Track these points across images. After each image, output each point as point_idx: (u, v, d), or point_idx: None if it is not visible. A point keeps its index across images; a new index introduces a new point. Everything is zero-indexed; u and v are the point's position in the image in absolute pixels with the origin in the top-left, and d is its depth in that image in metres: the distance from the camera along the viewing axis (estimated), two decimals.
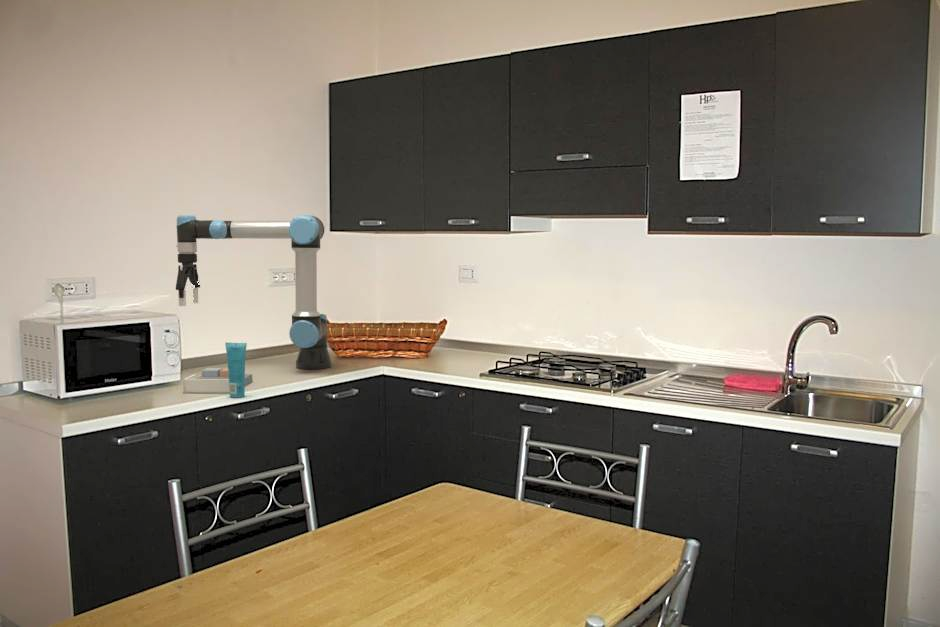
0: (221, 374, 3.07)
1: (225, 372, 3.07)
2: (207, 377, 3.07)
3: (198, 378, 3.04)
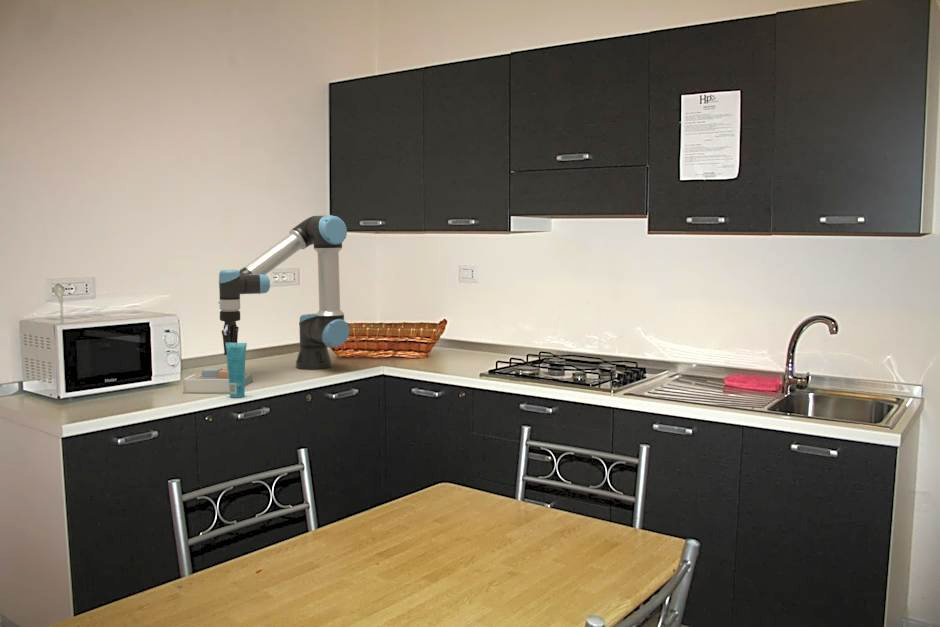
0: (219, 375, 3.05)
1: (223, 373, 3.05)
2: (207, 377, 3.07)
3: (198, 378, 3.04)
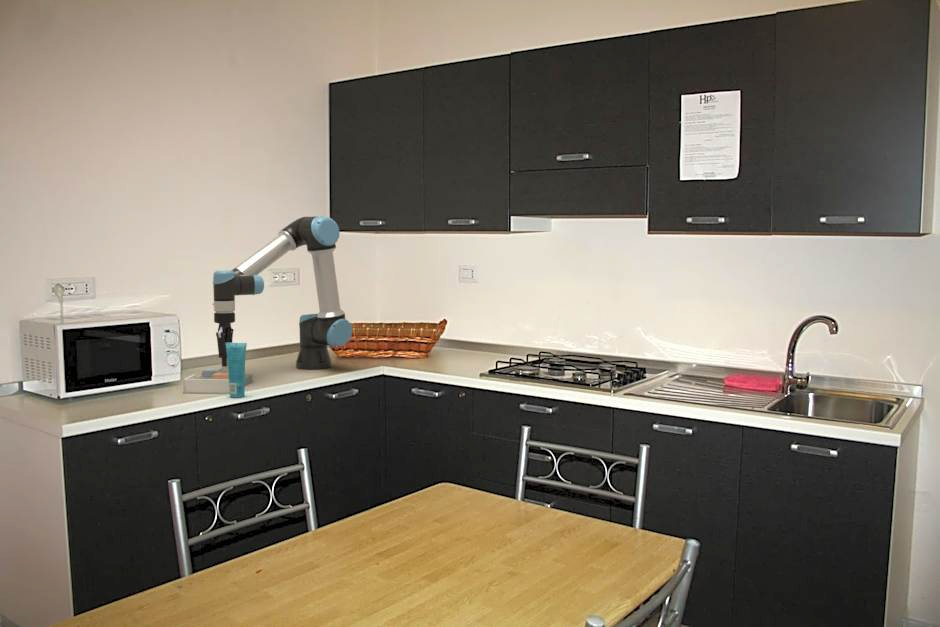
0: (213, 378, 2.99)
1: (217, 376, 2.98)
2: (207, 377, 3.07)
3: (198, 378, 3.04)
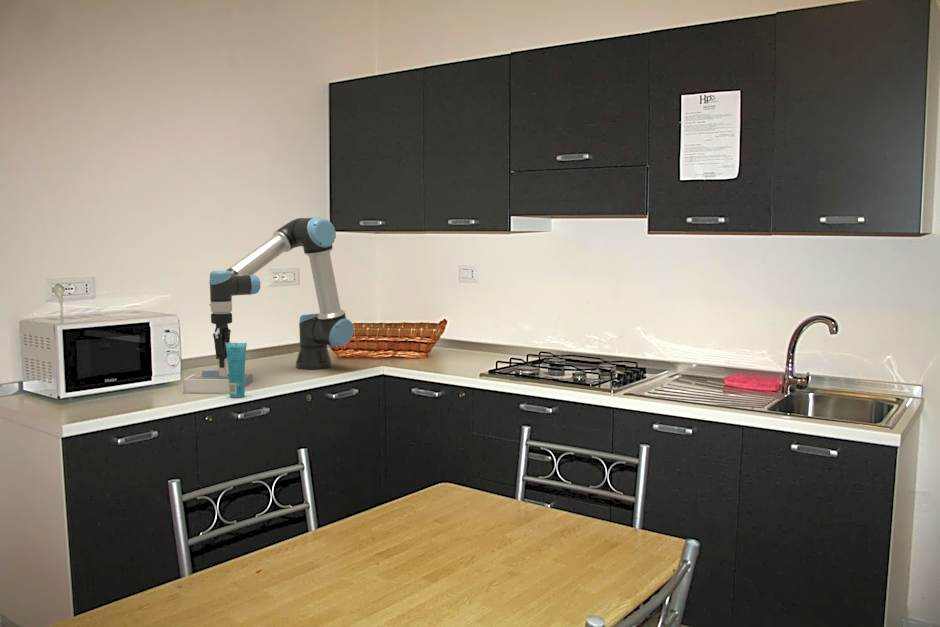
0: None
1: None
2: (207, 377, 3.07)
3: (198, 378, 3.04)
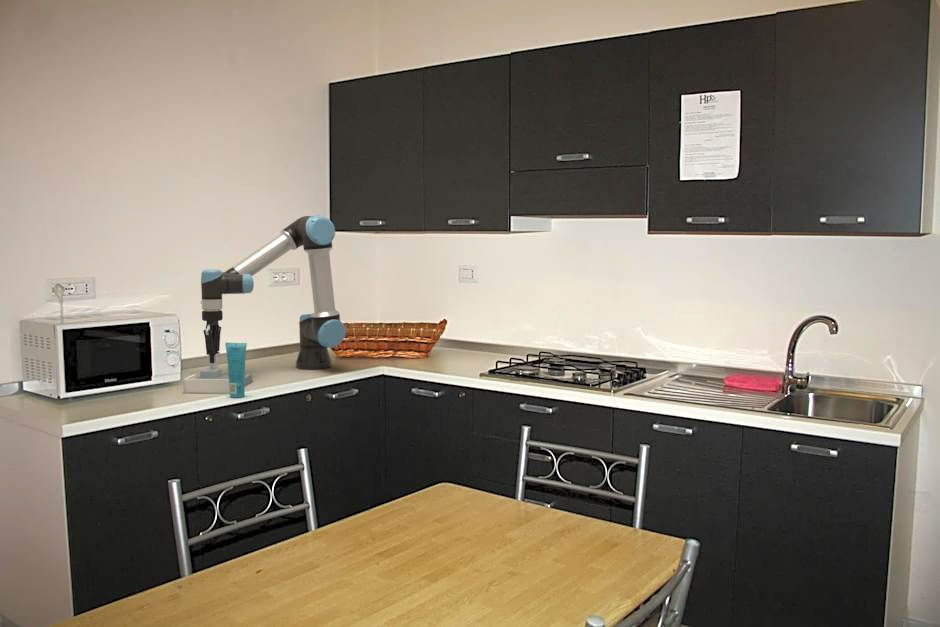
0: None
1: None
2: None
3: (198, 378, 3.04)
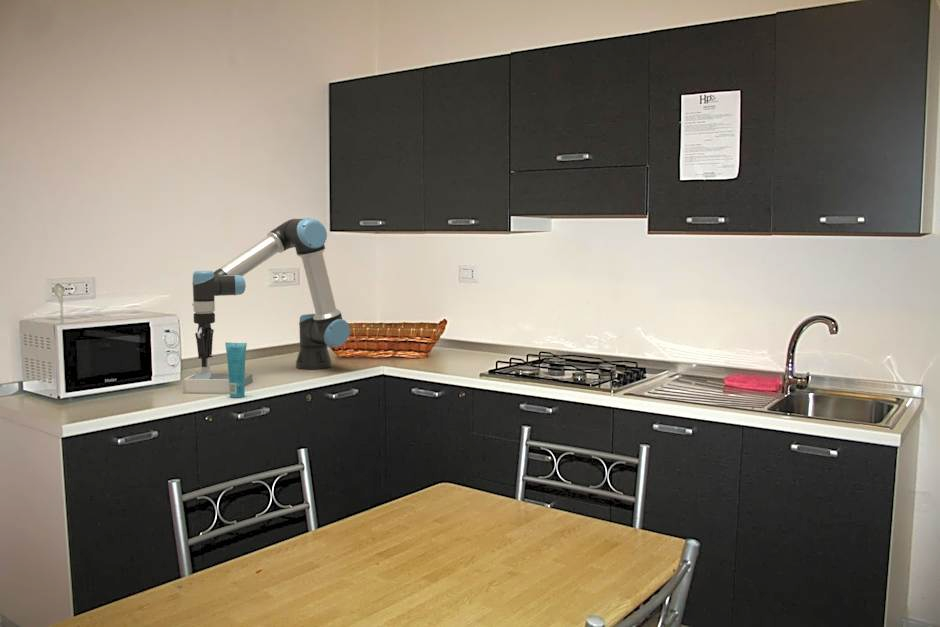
0: None
1: None
2: None
3: None
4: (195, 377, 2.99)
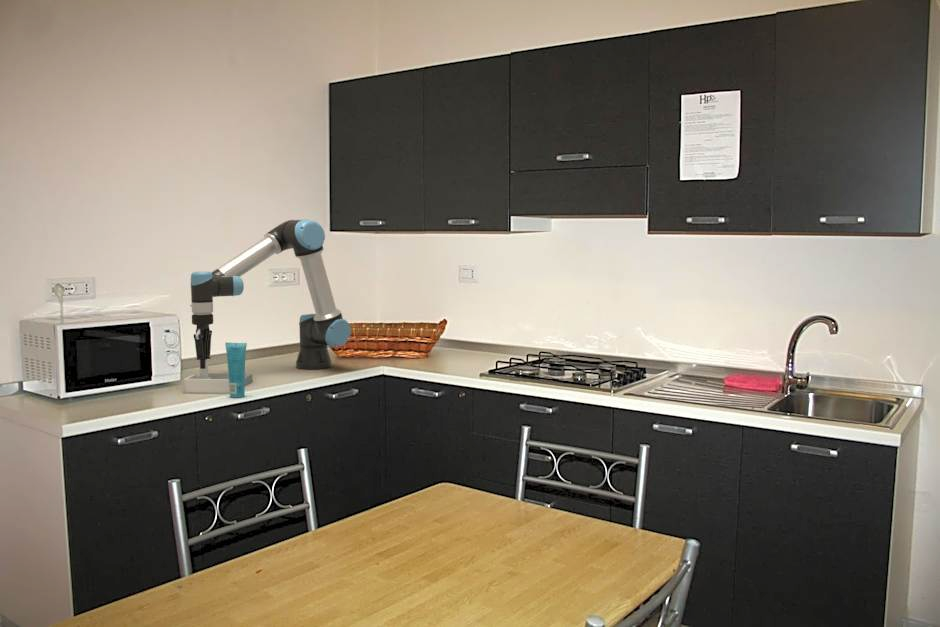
0: None
1: None
2: None
3: None
4: None
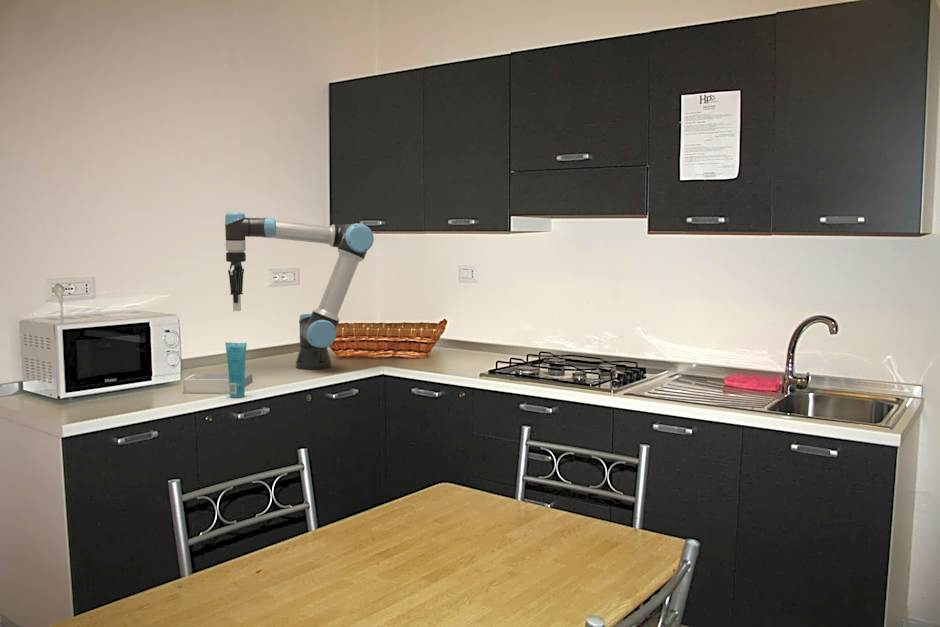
0: None
1: None
2: (207, 377, 3.07)
3: (198, 378, 3.04)
4: None
